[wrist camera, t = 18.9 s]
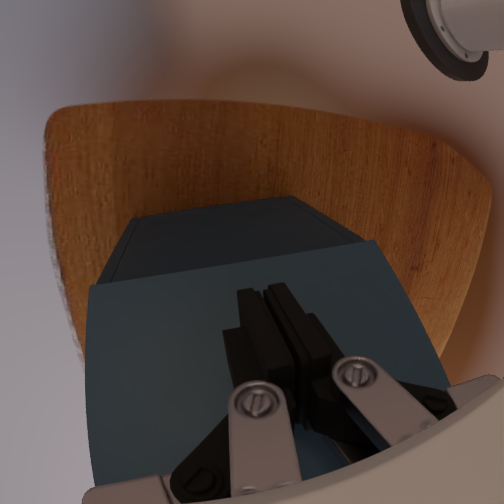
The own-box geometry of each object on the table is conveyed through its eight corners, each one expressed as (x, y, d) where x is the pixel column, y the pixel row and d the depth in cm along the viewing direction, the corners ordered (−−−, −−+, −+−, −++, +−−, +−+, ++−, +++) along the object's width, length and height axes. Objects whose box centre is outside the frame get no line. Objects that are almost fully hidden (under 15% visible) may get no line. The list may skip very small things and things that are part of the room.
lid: (465, 458, 8) (476, 455, 7) (121, 556, 5) (113, 561, 5) (370, 248, 16) (374, 239, 15) (95, 294, 13) (89, 285, 13)
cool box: (295, 304, 32) (348, 384, 21) (158, 328, 29) (155, 425, 18) (293, 195, 27) (367, 241, 16) (130, 218, 25) (94, 285, 13)
